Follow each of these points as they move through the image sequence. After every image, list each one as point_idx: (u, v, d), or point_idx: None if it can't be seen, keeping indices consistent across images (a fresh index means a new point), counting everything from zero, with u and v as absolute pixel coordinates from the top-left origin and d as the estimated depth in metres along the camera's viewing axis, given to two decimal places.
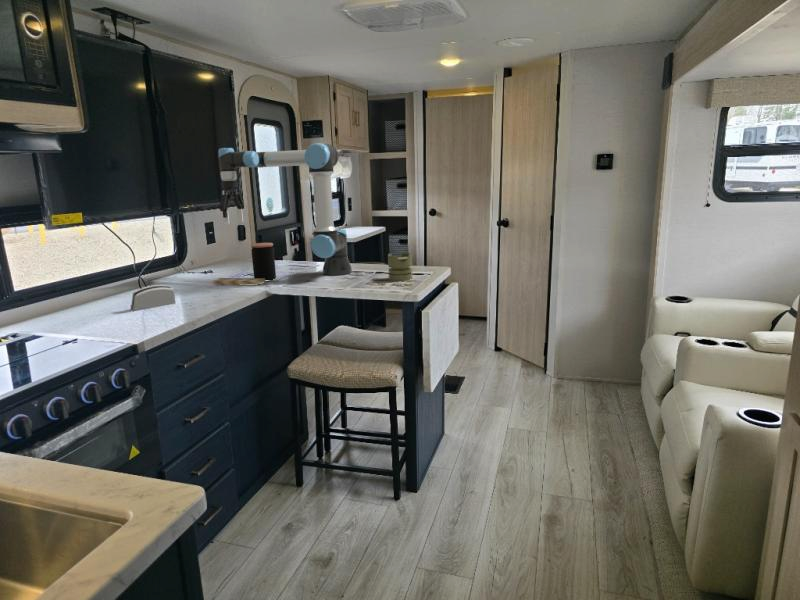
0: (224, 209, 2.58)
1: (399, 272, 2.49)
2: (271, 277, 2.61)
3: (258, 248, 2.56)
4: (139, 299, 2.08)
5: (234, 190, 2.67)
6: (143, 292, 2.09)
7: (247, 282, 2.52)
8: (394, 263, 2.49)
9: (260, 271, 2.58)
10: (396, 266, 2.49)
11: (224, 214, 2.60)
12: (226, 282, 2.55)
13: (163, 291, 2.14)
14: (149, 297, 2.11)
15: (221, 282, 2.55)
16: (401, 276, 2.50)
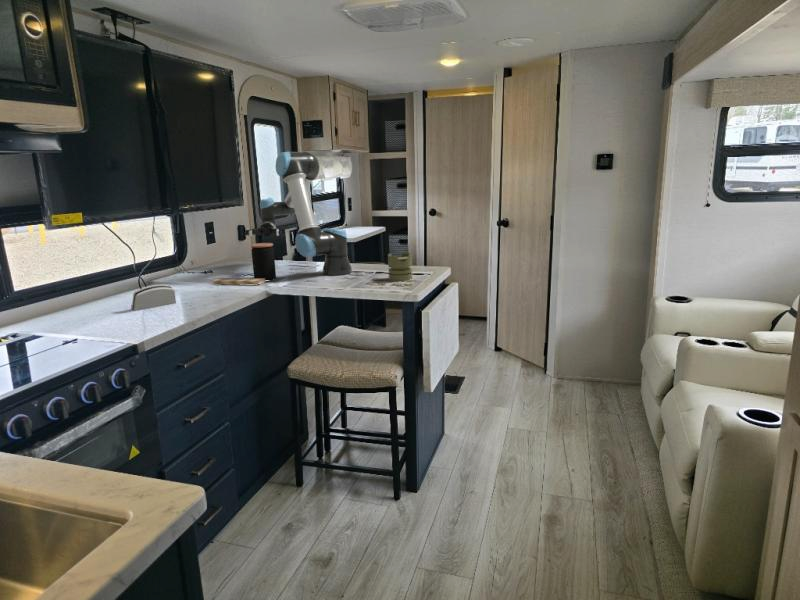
0: (246, 230, 2.74)
1: (399, 272, 2.49)
2: (271, 277, 2.61)
3: (258, 248, 2.56)
4: (140, 299, 2.09)
5: None
6: (144, 292, 2.09)
7: (247, 282, 2.52)
8: (394, 263, 2.49)
9: (260, 271, 2.58)
10: (396, 266, 2.49)
11: None
12: (226, 282, 2.55)
13: (164, 291, 2.14)
14: (150, 297, 2.11)
15: (221, 282, 2.55)
16: (401, 276, 2.50)
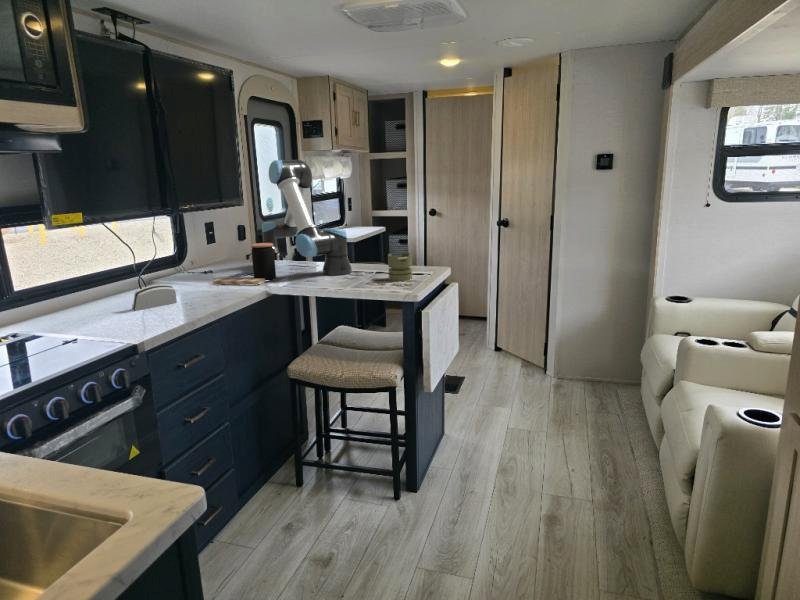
0: (246, 255, 2.74)
1: (399, 272, 2.49)
2: (271, 277, 2.61)
3: (258, 248, 2.56)
4: (141, 299, 2.09)
5: None
6: (145, 292, 2.09)
7: (247, 282, 2.52)
8: (394, 263, 2.49)
9: (260, 271, 2.58)
10: (396, 266, 2.49)
11: None
12: (226, 282, 2.55)
13: (165, 291, 2.15)
14: (151, 297, 2.11)
15: (221, 282, 2.55)
16: (401, 276, 2.50)
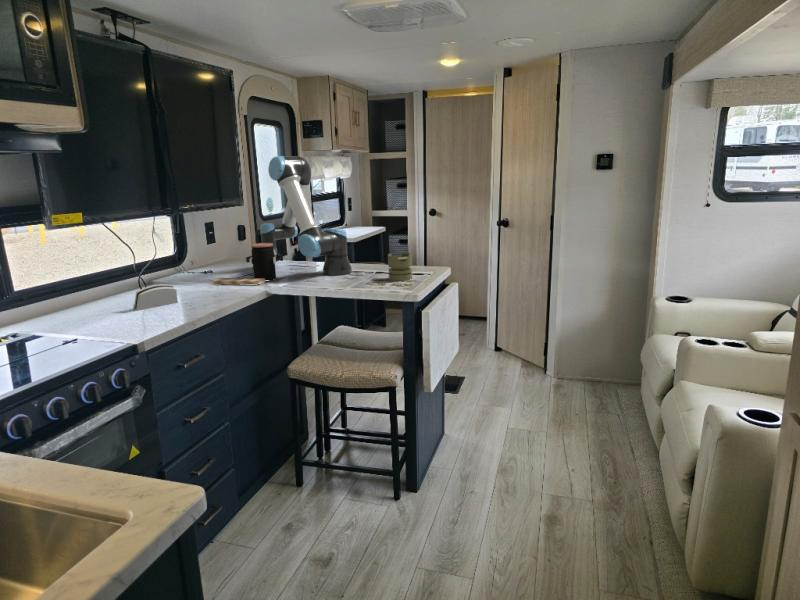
0: (247, 257, 2.64)
1: (399, 272, 2.49)
2: (271, 277, 2.61)
3: (258, 248, 2.56)
4: (143, 298, 2.09)
5: None
6: (146, 291, 2.09)
7: (247, 282, 2.52)
8: (394, 263, 2.49)
9: (260, 271, 2.58)
10: (396, 266, 2.49)
11: None
12: (226, 282, 2.55)
13: (166, 290, 2.15)
14: (152, 296, 2.12)
15: (221, 282, 2.55)
16: (401, 276, 2.50)
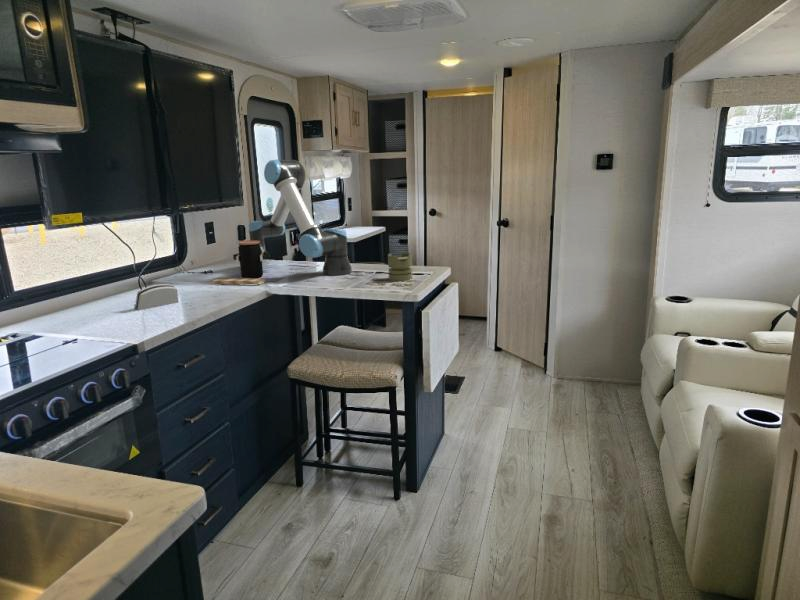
0: (234, 255, 2.66)
1: (399, 272, 2.49)
2: (258, 274, 2.63)
3: (245, 245, 2.58)
4: (144, 298, 2.10)
5: None
6: (148, 291, 2.10)
7: (247, 282, 2.52)
8: (394, 263, 2.49)
9: (246, 268, 2.60)
10: (396, 266, 2.49)
11: None
12: (226, 282, 2.55)
13: (167, 290, 2.15)
14: (153, 296, 2.12)
15: (221, 282, 2.55)
16: (401, 276, 2.50)
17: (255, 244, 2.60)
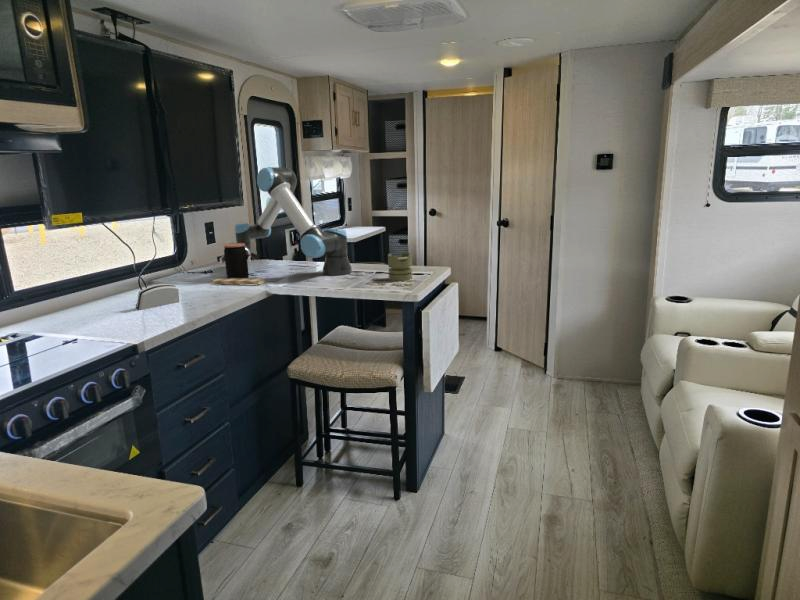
0: None
1: (399, 272, 2.49)
2: (243, 277, 2.64)
3: (230, 248, 2.60)
4: (146, 298, 2.10)
5: None
6: (149, 291, 2.10)
7: (247, 282, 2.52)
8: (394, 263, 2.49)
9: (232, 271, 2.62)
10: (396, 266, 2.49)
11: None
12: (226, 282, 2.55)
13: (168, 290, 2.16)
14: (155, 296, 2.13)
15: (221, 282, 2.55)
16: (401, 276, 2.50)
17: (240, 247, 2.61)
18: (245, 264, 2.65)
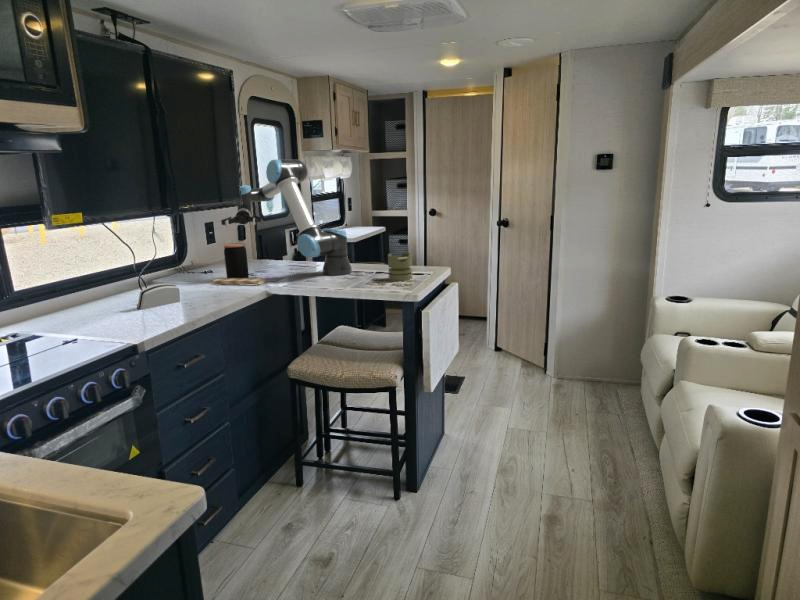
0: (222, 220, 2.76)
1: (399, 272, 2.49)
2: (243, 277, 2.64)
3: (230, 248, 2.60)
4: (147, 298, 2.10)
5: None
6: (151, 291, 2.11)
7: (247, 282, 2.52)
8: (394, 263, 2.49)
9: (232, 271, 2.62)
10: (396, 266, 2.49)
11: None
12: (226, 282, 2.55)
13: (169, 289, 2.17)
14: (156, 296, 2.13)
15: (221, 282, 2.55)
16: (401, 276, 2.50)
17: (240, 247, 2.61)
18: (245, 264, 2.65)
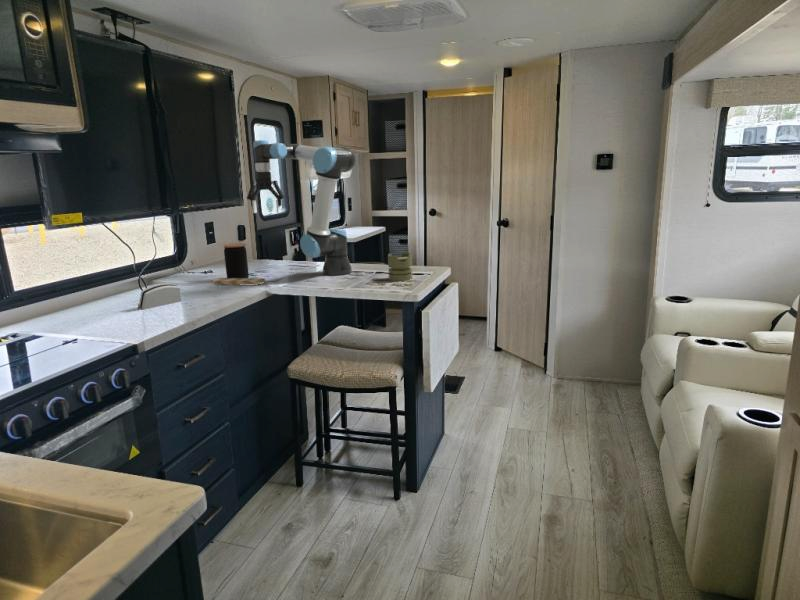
0: (248, 198, 2.79)
1: (399, 272, 2.49)
2: (243, 277, 2.64)
3: (230, 248, 2.60)
4: (148, 297, 2.11)
5: (266, 181, 2.75)
6: (152, 290, 2.11)
7: (247, 282, 2.52)
8: (394, 263, 2.49)
9: (232, 271, 2.62)
10: (396, 266, 2.49)
11: None
12: (226, 282, 2.55)
13: (171, 289, 2.17)
14: (158, 295, 2.14)
15: (221, 282, 2.55)
16: (401, 276, 2.50)
17: (240, 247, 2.61)
18: (245, 264, 2.65)
